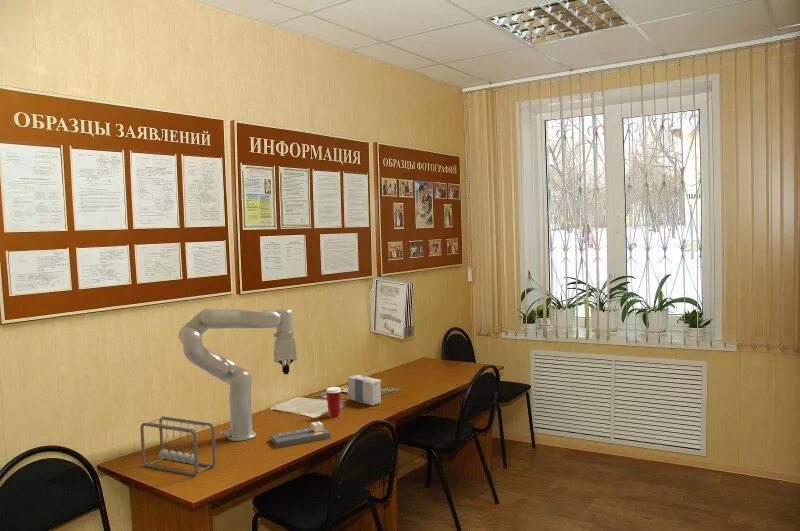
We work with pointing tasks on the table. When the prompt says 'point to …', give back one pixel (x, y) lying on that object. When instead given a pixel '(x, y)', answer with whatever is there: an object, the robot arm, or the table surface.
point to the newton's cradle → (179, 455)
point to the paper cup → (333, 401)
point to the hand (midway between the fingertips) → (286, 373)
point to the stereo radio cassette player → (364, 389)
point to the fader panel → (298, 437)
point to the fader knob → (317, 426)
